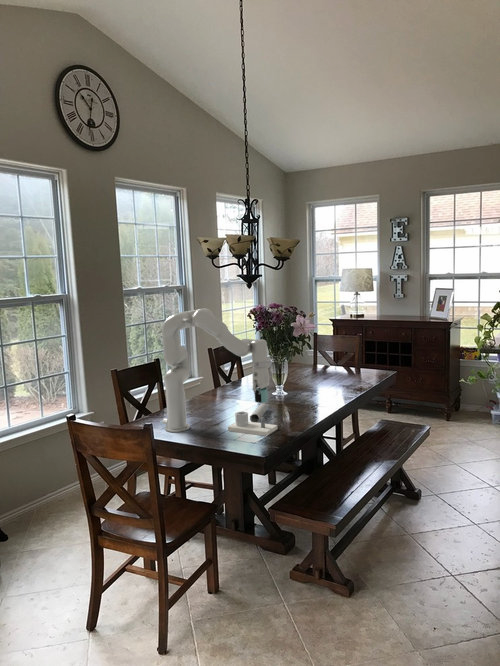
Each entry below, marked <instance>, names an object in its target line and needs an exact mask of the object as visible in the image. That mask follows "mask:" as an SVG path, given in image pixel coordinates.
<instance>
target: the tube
mask: <svg viewBox="0 0 500 666" xmlns="http://www.w3.org/2000/svg"><path fill="white" fill-rule="evenodd" d="M267 405H268V404H266V402H263V403H260V404H259V405H258V406H257V407H256V408H255V410H254V411H253V413H251V415H249V420H250V421H249V422H256V423H260V422H261V417H264V415H265V413H266V412H267V410H268V406H267Z"/></svg>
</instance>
